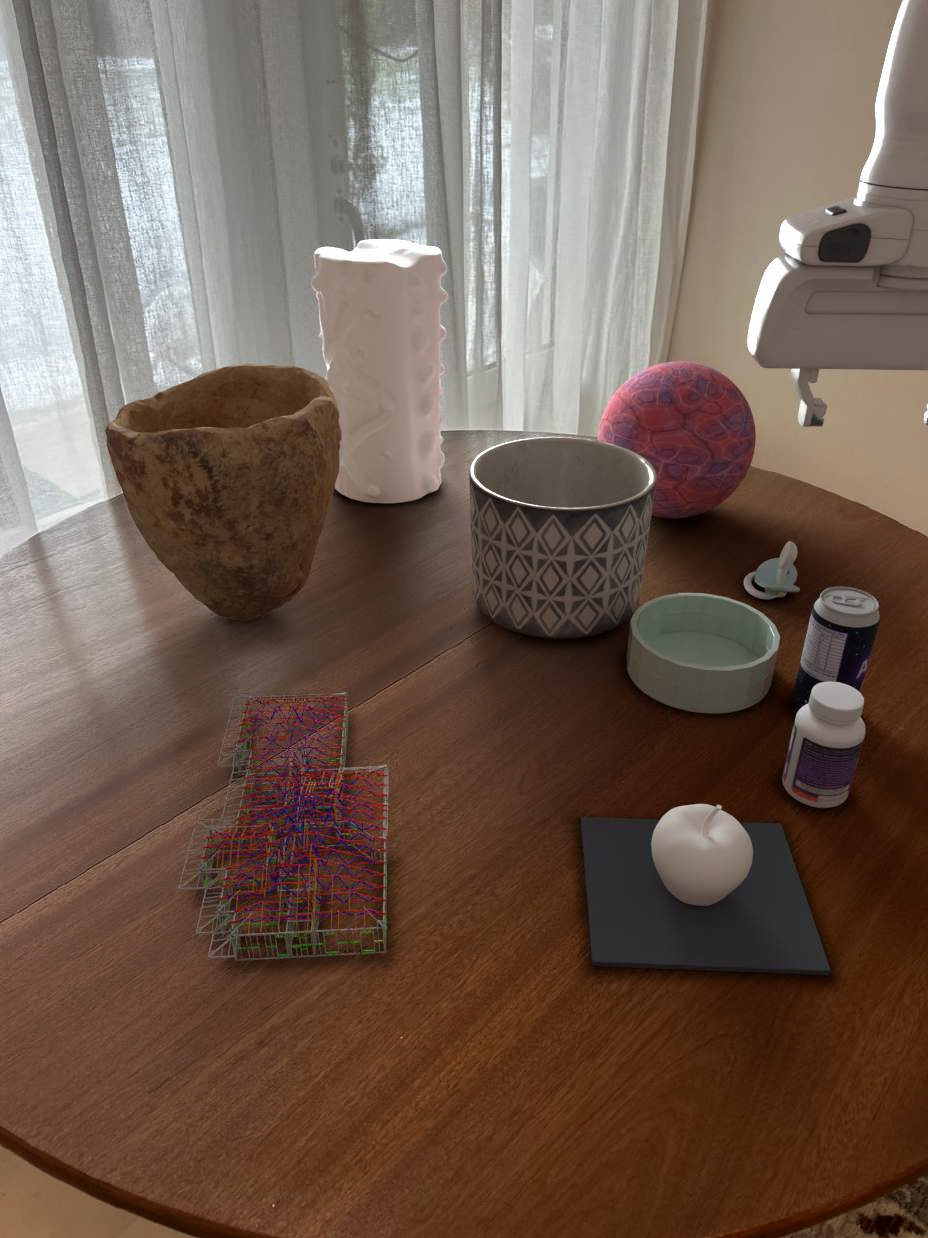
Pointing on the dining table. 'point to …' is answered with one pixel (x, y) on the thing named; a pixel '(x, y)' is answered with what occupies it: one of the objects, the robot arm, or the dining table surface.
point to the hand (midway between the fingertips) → (872, 425)
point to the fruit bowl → (702, 652)
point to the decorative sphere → (684, 433)
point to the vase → (384, 365)
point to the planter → (559, 534)
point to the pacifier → (775, 575)
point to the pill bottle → (825, 746)
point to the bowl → (232, 481)
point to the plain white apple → (701, 853)
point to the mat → (696, 908)
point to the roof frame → (302, 804)
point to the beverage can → (837, 641)
